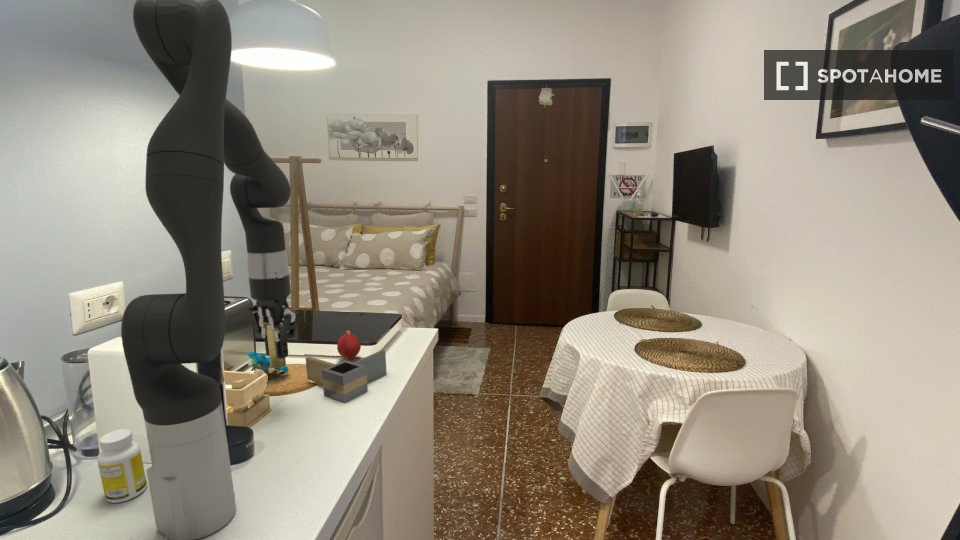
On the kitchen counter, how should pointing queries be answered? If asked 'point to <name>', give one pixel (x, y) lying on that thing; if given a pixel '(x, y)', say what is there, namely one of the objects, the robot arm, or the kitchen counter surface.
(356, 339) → the onion
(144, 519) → the kitchen counter surface
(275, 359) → the hinge pin
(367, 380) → the hinge
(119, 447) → the supplement bottle
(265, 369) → the blue fuzzy lump
